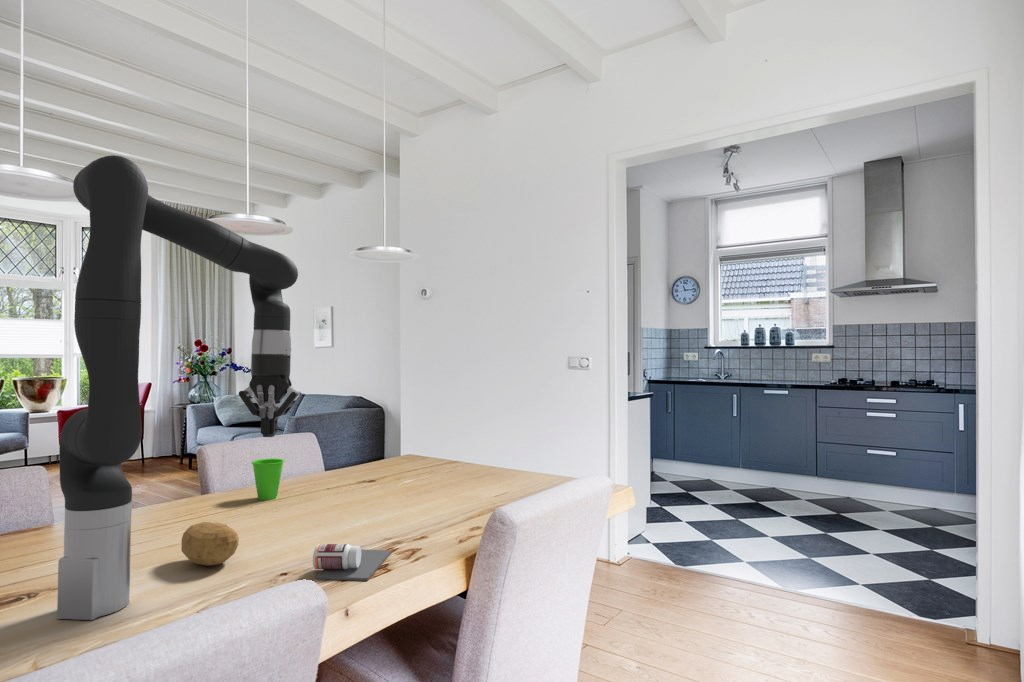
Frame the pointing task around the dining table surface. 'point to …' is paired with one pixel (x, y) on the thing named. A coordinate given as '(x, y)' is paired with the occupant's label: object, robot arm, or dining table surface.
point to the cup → (267, 477)
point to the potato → (209, 543)
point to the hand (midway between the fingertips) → (268, 436)
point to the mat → (365, 570)
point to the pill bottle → (336, 556)
